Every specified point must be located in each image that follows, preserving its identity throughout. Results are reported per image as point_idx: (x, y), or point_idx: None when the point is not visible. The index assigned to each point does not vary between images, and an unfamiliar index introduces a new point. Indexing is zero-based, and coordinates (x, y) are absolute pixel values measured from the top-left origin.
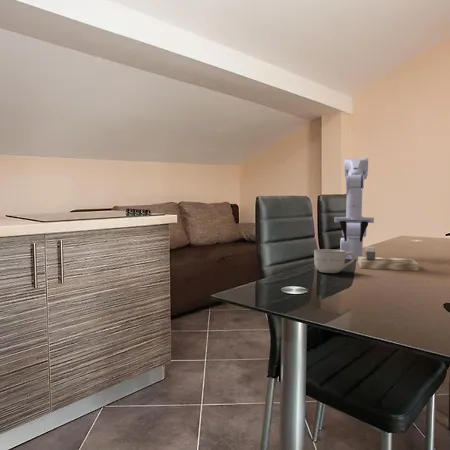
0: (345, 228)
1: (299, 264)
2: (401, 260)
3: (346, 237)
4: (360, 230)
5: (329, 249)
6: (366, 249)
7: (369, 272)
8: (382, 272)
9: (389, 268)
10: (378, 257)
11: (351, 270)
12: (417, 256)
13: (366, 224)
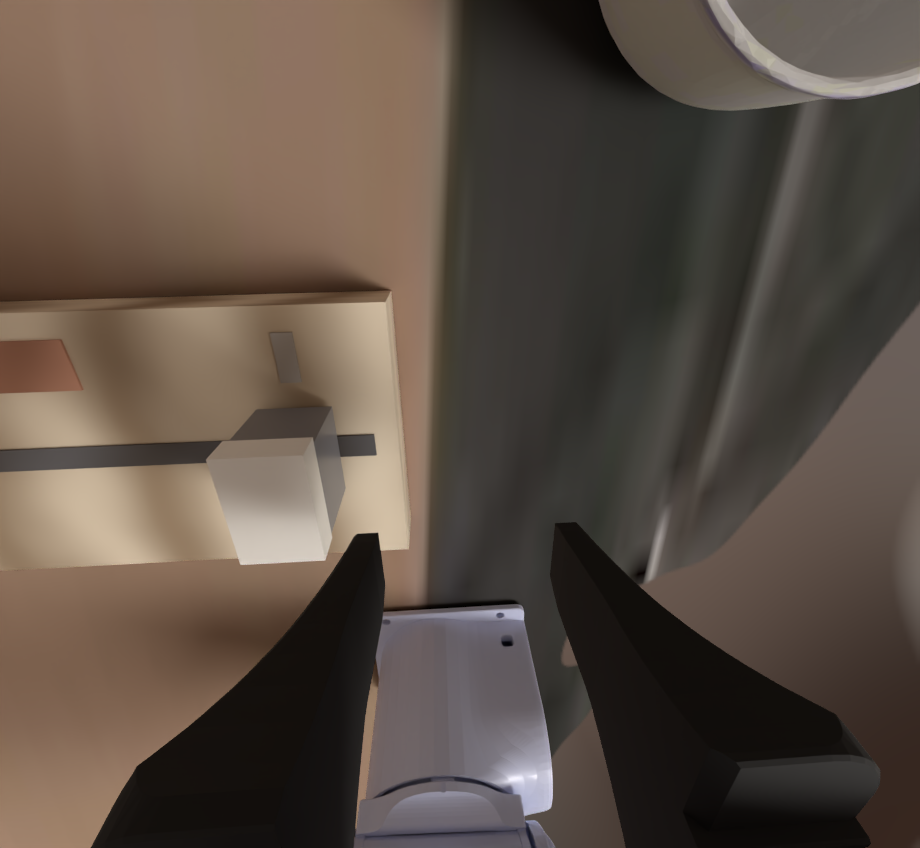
0: (668, 663)
1: (879, 328)
2: (30, 453)
3: (574, 551)
4: (358, 738)
5: (851, 87)
6: (319, 498)
7: (301, 56)
8: (176, 99)
9: (140, 300)
10: None
11: (475, 134)
12: (81, 783)
13: (135, 804)
